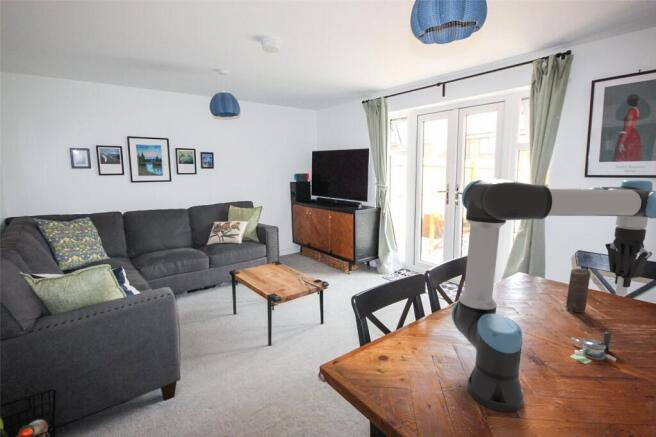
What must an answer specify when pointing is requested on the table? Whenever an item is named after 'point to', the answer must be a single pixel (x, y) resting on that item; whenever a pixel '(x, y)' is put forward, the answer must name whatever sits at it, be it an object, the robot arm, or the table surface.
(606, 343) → the cam capstan
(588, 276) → the candle
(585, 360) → the stand plate
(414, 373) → the table surface
